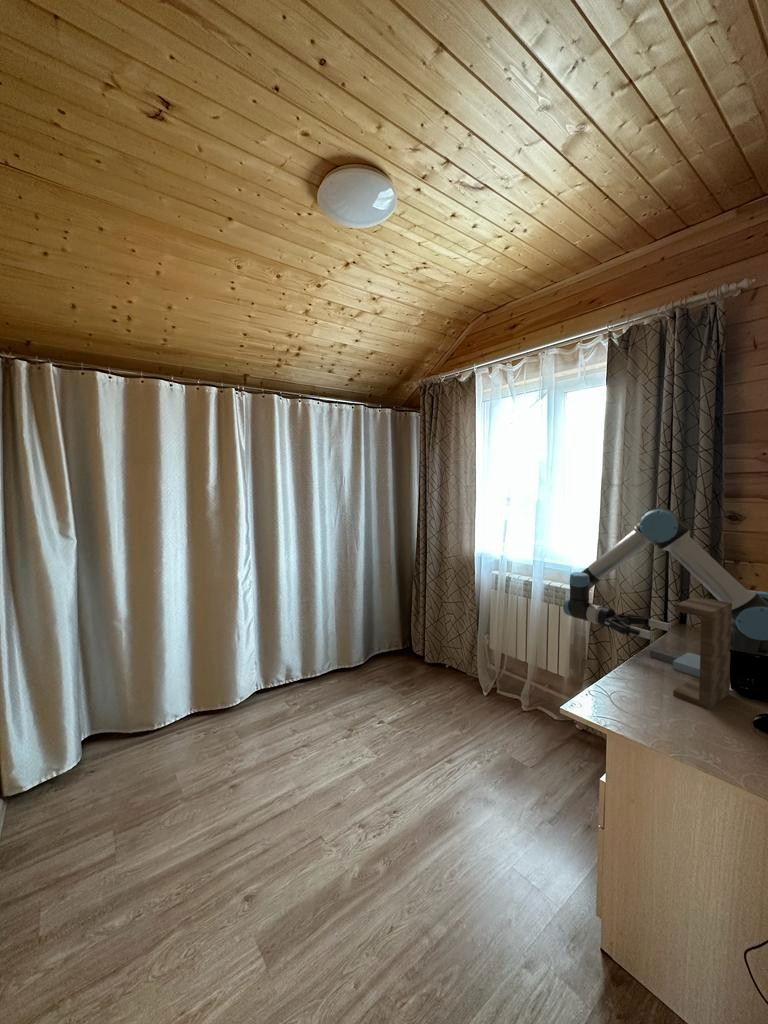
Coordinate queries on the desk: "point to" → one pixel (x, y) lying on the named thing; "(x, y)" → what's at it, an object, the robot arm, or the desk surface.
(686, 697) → the shelf stand
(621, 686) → the desk surface
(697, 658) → the grey toy mallet
